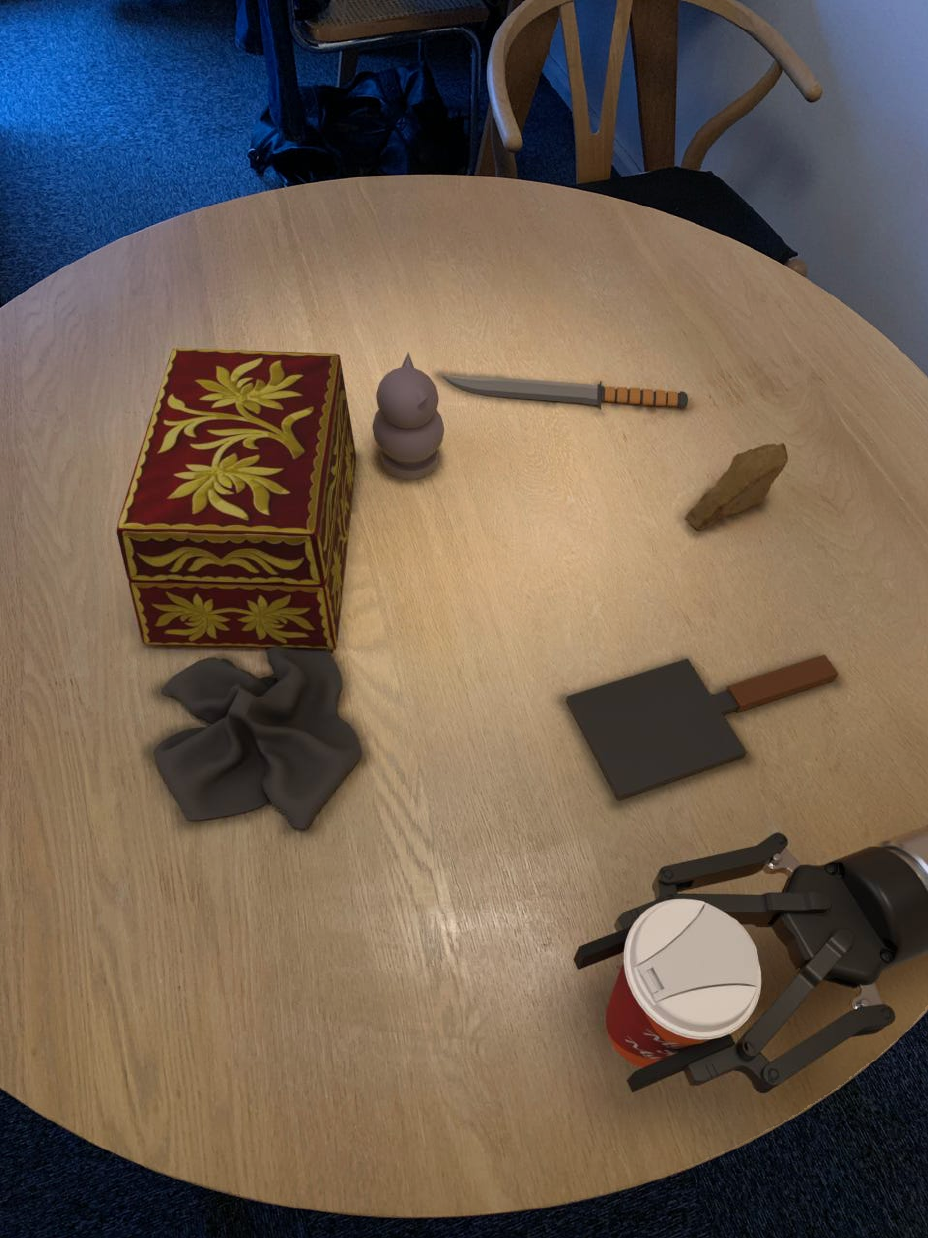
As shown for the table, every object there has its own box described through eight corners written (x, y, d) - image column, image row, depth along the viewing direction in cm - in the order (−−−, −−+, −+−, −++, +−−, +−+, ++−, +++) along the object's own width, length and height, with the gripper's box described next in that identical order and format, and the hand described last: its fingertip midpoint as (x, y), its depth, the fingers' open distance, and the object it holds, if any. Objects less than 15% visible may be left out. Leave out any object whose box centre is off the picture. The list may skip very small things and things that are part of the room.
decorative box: (337, 650, 90) (325, 545, 78) (142, 646, 89) (100, 539, 77) (357, 455, 107) (349, 345, 95) (193, 450, 106) (165, 338, 94)
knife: (438, 392, 113) (442, 365, 116) (438, 400, 114) (442, 373, 117) (689, 411, 112) (688, 383, 114) (687, 419, 113) (685, 391, 116)
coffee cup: (625, 1108, 63) (675, 1058, 52) (569, 993, 68) (602, 922, 56) (728, 1055, 66) (798, 995, 54) (666, 947, 70) (719, 869, 58)
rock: (699, 538, 98) (793, 523, 98) (693, 457, 96) (789, 442, 96) (673, 519, 109) (758, 506, 108) (667, 445, 106) (754, 432, 106)
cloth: (362, 829, 80) (358, 797, 75) (139, 839, 78) (120, 807, 73) (361, 620, 93) (358, 581, 88) (171, 625, 91) (157, 586, 87)
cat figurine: (365, 441, 108) (360, 355, 99) (430, 428, 110) (432, 343, 100) (385, 492, 103) (382, 407, 94) (452, 478, 105) (456, 394, 96)
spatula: (860, 716, 88) (865, 709, 88) (617, 801, 82) (620, 794, 81) (796, 628, 94) (800, 620, 94) (565, 700, 88) (567, 693, 87)
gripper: (971, 1055, 62) (668, 1199, 56) (802, 796, 73) (535, 894, 67) (1030, 1027, 56) (698, 1184, 50) (837, 749, 67) (547, 852, 61)
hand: (605, 1018), depth 59 cm, fingers closed on coffee cup, 7 cm apart
